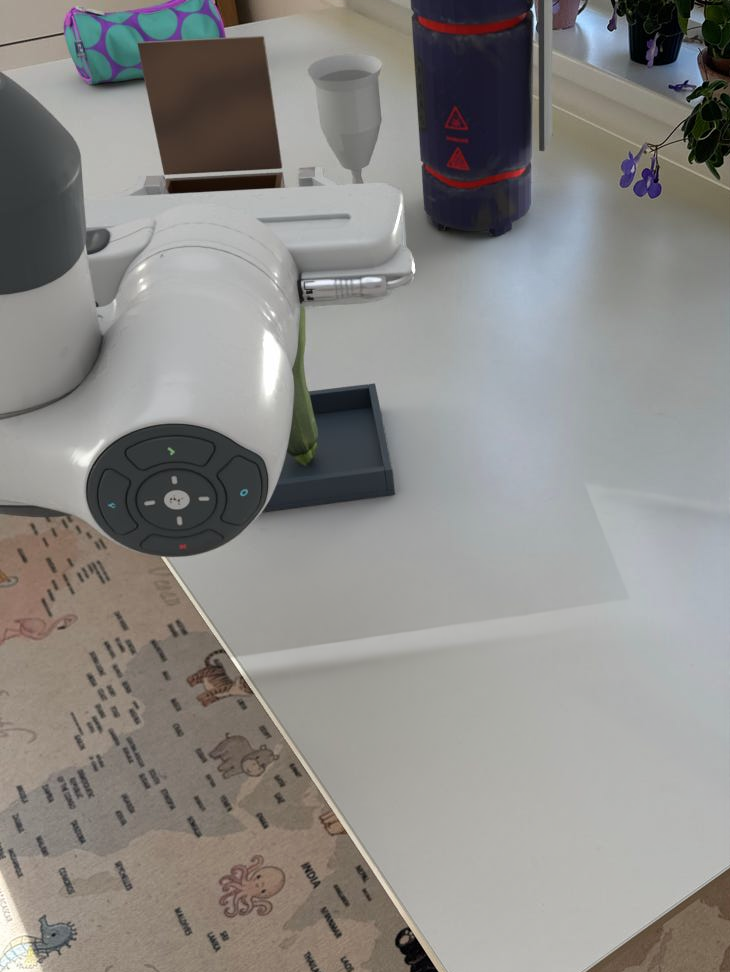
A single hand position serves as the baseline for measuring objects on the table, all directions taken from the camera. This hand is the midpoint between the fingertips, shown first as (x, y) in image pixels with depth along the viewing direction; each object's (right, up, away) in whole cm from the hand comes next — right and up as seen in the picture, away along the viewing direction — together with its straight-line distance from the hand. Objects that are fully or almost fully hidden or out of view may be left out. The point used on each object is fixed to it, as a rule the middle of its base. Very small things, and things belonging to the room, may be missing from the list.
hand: (234, 183), depth 62 cm
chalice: (+2, +14, +48) cm, 50 cm away
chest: (-11, +13, +47) cm, 50 cm away
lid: (-12, +26, +42) cm, 51 cm away
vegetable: (0, -12, +23) cm, 26 cm away
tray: (0, -12, +24) cm, 27 cm away
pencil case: (-32, +53, +86) cm, 106 cm away
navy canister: (+15, +19, +53) cm, 59 cm away
